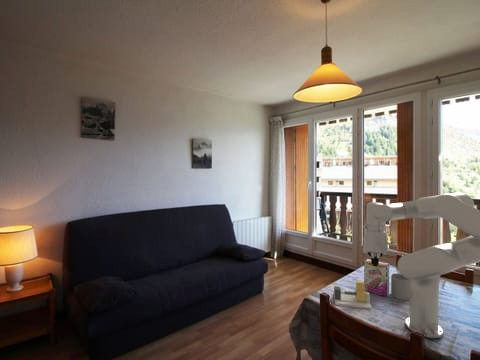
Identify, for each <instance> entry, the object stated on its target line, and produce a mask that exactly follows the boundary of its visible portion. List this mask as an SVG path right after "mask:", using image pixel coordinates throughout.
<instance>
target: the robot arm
mask: <svg viewBox="0 0 480 360" xmlns="http://www.w3.org/2000/svg"><path fill="white" fill-rule="evenodd" d="M365 217H366V221H365V222H366V224H364V225H362V228H363V229H365V230H364V232H363V240H362V248H363V249H362V253H363V254H366V255H368V256H369V257H370V260H371V264H372V265H373V266H374V267H375V266H376V267H377V265H379V262H380V258H381V257H382V256H386V255H388V254H389V253H388V252H389V244H388V236H387V232H386V231H385V221H386V222H391V221H397V220H405V219H414V218H415V219H416V218H423V219H425V220H428V219H439V218H440V219H443V220H445V221H446V222H447V223H449V224H451V225H452V226H454V227H456V228H458V229H459V230H461V231H462V232H464V233H466V234H467V235H469V236H466V237H463V238H460V239H457V240H454V241H451V242H447V243H446V242H445V243H439V244H435V245H432V246H429V247H426V248H422V249H419V250H416V251H414V252H410V253H407V254H405V255H401V256H400V258H399V259H398V261H397V269H398V272H399V274H402V275H403V276H404V277H406V278H408V279H410V299H409V316H408V317H407V318H405V320H404V324H405V326H406V328H408V329H409V330H410V331H411V332H413V333H415V332H419V333H422V334H424V336H423V337H424V338H426V337H427V338H431V339H437V338H442V337H443V335H444V329H443V328H442V327H441V326H440V325H439V303H440V302H439V301H440V300H439V295H440V291H439V290H440V280H441V276H442V275H446V274H449V273H451V272H454V271H457V270H459V269H461V268H463V267H466V266H470V265H474V264H477V263H480V210H479V209H478V208H476V207H475V202H474V199H473V198H472V197H471V196H470V195H468V194H467V193H464V192H450V193H444V194H443V193H442V194H438V195H431V196H424V197H420V198H418V199H416V200H411V201H404V202H403V201H402V202H396V203H395V202H394V203H385V204H384V203H383V202H376V201H370V202H367V204H366V215H365Z"/></svg>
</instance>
